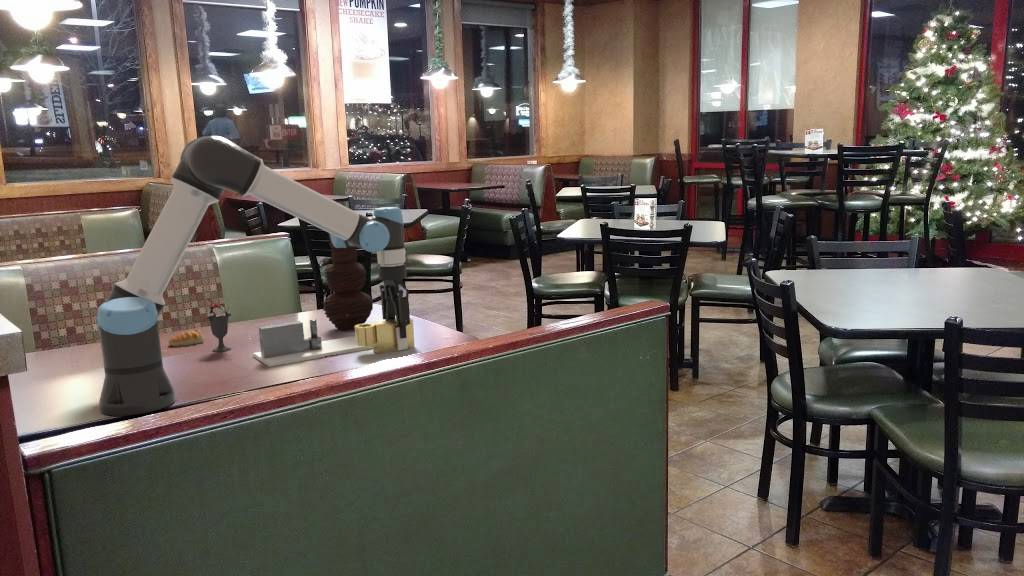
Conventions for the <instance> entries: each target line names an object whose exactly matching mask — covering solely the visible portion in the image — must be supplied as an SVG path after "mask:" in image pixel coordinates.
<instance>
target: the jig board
mask: <svg viewBox="0 0 1024 576" xmlns="http://www.w3.org/2000/svg"><path fill="white" fill-rule="evenodd" d="M321 342H322V349H319V350H308V351H305V352H300V353H294V354H288V355H283V356H277V357H271V358H263V357H261V351H257V352H253V353H252V355H253V358H255V359H256V360H258V361H260V362H261V363H262V364H264V365H266V366H267V367H268V368H269V367H270V368H271V367H276V366H281V365H282V366H283V365H287V364H292V363H293V364H294V363H297V362H305V361H311V360H315V359H321V357H322V358H326V357H325V356H327V357H331V356H330V355H333V356H337V355H336V354H338V355H342V353H344V354H348V352H349V353H354V352H361V351H365V350H371V348H372V349H373V345H369V346H358V345H356V340H355V335H353V336H352V335H351V336H346V337H340V338H334V339H329V340H328V339H327V340H321Z"/></svg>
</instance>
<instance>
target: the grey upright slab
mask: <svg viewBox="0 0 1024 576" xmlns="http://www.w3.org/2000/svg"><path fill="white" fill-rule="evenodd" d="M317 323H318V322H317V319H314V318H313V319H309V329H310V330H309V331H310V337H308V338H305V335H304V334H305V332H304V322H302V321H300V320H299V321H289V322H284V323H279V324H278V323H277V324H270V325H265V326H259V327H258V332H259V333H258V336H259V345H260V347H259V348H260V352H261V357H263V358H271V357H277V356H283V355H288V354H294V353H300V352H305V351H308V350H319V349H322V342H321V341H322V337H321V336H318V334H319V333H318V324H317Z"/></svg>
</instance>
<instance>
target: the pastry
mask: <svg viewBox="0 0 1024 576" xmlns="http://www.w3.org/2000/svg"><path fill="white" fill-rule="evenodd" d="M204 341H205V340H204V336H203V333H202V331H201V330H200V329H195V330H190V331H189V330H188V331H184V332H180V333H179V334H178V335H175V336H174V337H172V338H171V337H170V339H169V340H168V345H169V346H172V347H183V346H184V347H185V346H186V347H187V346H193V345H197V344H202V343H203V342H204Z"/></svg>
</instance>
